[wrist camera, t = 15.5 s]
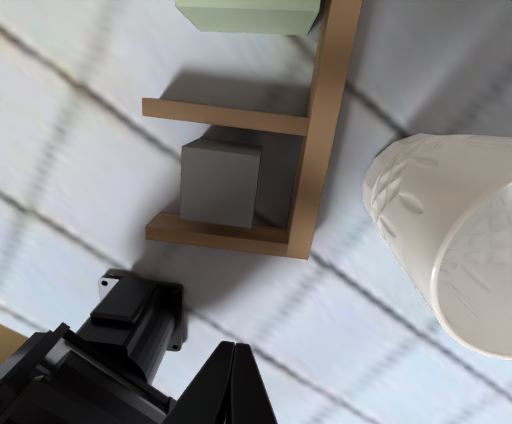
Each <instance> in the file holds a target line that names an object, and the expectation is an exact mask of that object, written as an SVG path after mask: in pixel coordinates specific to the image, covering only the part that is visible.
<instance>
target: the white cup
mask: <svg viewBox="0 0 512 424" xmlns="http://www.w3.org/2000/svg"><path fill="white" fill-rule="evenodd" d="M362 203H363V205H364V207H365V209H366V211H367V213H368V215H369V216H370V218H371V220H372V222H373V223H374V225H375V226H376V229H377V231H378V233H379V234H380V236H381V237H382V239H383V240H384V242H385V244H386V245H387V247H388V248H389V250H390V251H391V253H392V254H393V256H394V258H395V259H396V261H397V262H398V264H399V265H400V267H401V268H402V269H403V271H404V272H405V274H406V275H407V277H408V278H409V279H410V281H411V282H412V284H413V285H414V287H415V288H416V289H417V291H418V292H419V294H420V295H421V296H422V298H423V299H424V301H425V302H426V304H427V305H428V306H429V308H430V309H431V311H432V312H433V314H434V315H435V317H436V318H437V320H438V321H439V322H440V324H441V325H442V327H443V328H444V329H445V330H446V332H447V333H448V334H449V335H450V336H451V337H452V338H454V339H455V340H456V341H457V342H459V343H460V344H462V345H463V346H465V347H467V348H468V349H470V350H472V351H475V352H477V353H480V354H482V355H486V356H489V357H493V358H498V359H503V360H512V137H499V136H487V135H463V134H454V135H432V134H423V133H419V134H416V135H413V136H410V137H407V138H404V139H401V140H398V141H395V142H393V143H392V144H391V145H389V146H388V147H387V148H386V149H385V150H384V151H382V152H381V153H380V154H379V155H378V156H377V157H375V158H374V159H373V161H372V163H371V165H370V167H369V169H368V171H367V173H366V175H365V177H364V179H363V196H362Z"/></svg>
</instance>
